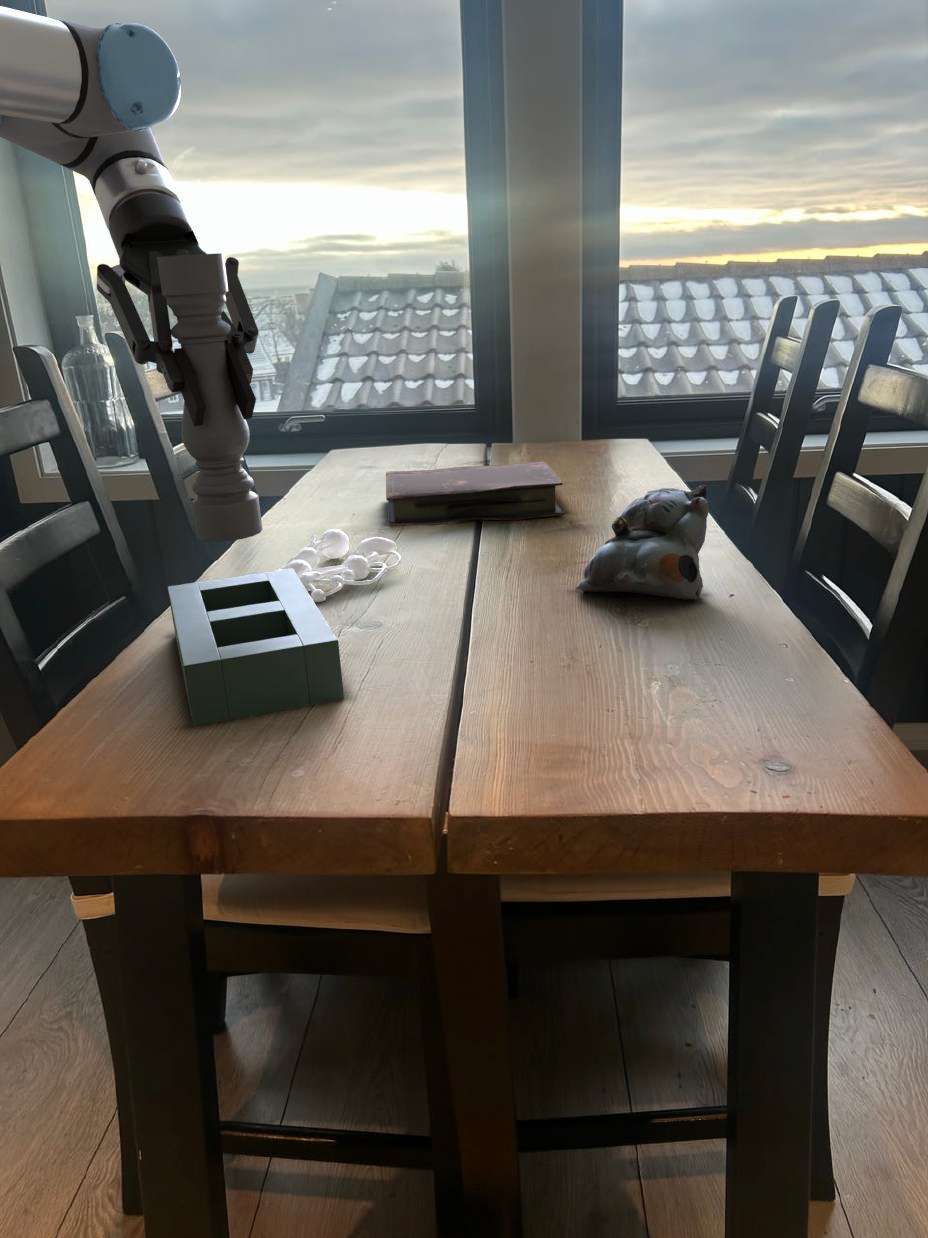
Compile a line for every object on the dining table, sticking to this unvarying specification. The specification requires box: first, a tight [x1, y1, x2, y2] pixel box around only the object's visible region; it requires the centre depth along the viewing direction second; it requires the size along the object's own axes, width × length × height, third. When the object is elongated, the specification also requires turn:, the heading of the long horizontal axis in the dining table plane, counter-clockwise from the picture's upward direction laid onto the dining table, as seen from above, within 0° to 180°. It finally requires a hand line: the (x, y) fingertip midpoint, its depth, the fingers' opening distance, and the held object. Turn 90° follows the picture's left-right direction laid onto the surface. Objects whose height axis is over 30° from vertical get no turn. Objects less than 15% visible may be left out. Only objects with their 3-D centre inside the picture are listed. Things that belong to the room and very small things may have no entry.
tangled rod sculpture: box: [275, 528, 403, 603], centre depth 119 cm, size 19×14×4 cm
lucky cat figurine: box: [574, 484, 710, 603], centre depth 108 cm, size 15×12×14 cm
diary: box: [385, 460, 564, 526], centre depth 149 cm, size 19×25×5 cm
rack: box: [167, 568, 345, 727], centre depth 95 cm, size 13×23×6 cm, turn 19°
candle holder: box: [157, 252, 264, 543], centre depth 91 cm, size 6×6×25 cm
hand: (225, 412), depth 89 cm, fingers closed on candle holder, 4 cm apart
